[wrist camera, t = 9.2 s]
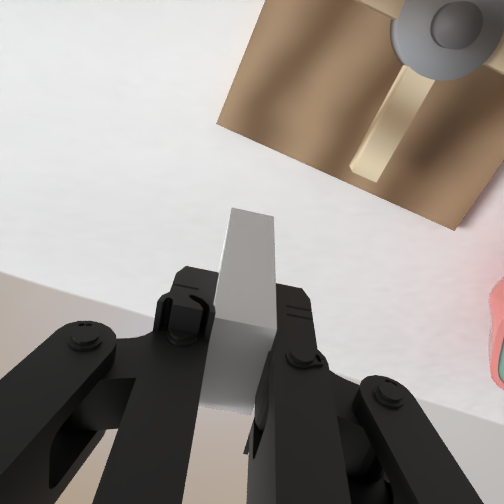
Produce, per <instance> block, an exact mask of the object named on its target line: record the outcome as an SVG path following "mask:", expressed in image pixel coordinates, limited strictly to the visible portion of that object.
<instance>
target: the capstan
mask: <svg viewBox="0 0 504 504" xmlns="http://www.w3.org/2000/svg"><path fill="white" fill-rule="evenodd" d="M354 1H356V2H358V3H360V4H362V5H364V6H366V7H368V8H370V9H372V10H374V11H376V12H378V13H380V14H382V15H384V16H386V17H388V18H390V19H391V22H390V41H391V46H392V49H393V51H394V53H395V56H396V57H397V59H398V60H399V62H400V63H401V64H402V65H403V66H402V68H401V70H400V72H399V74H398V76H397V78H396V79H395V81H394V83H393V85H392V87H391V89H390V91H389V92H388V94H387V96H386V98H385V100H384V102H383V104H382V105H381V107H380V109H379V111H378V113H377V115H376V117H375V118H374V120H373V122H372V124H371V126H370V128H369V130H368V132H367V133H366V135H365V137H364V139H363V141H362V143H361V145H360V146H359V148H358V150H357V152H356V154H355V156H354V158H353V159H352V161H351V163H350V165H349V166H350V168H351V170H352V172H353V173H356V174H358V175H360V176H362V177H365V178H367V179H369V180H371V181H374V182H377V181H378V179H379V177H380V175H381V174H382V172H383V170H384V169H385V167H386V165H387V163H388V162H389V160H390V158H391V156H392V155H393V153H394V151H395V149H396V148H397V146H398V144H399V142H400V141H401V139H402V137H403V135H404V134H405V132H406V130H407V128H408V127H409V125H410V123H411V122H412V120H413V118H414V116H415V115H416V113H417V111H418V109H419V108H420V106H421V104H422V102H423V101H424V99H425V97H426V95H427V94H428V92H429V90H430V88H431V87H432V85H433V83H434V81H435V80H439V81H448V80H454V79H458V78H461V77H463V76H466V75H468V74H470V73H471V72H473V71H475V70H476V69H478V68H479V67H480V66H481V65H484V66H486V67H488V68H490V69H492V70H494V71H496V72H498V73H500V74H502V75H504V33H503V32H504V0H354Z"/></svg>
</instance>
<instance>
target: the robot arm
mask: <svg viewBox="0 0 504 504" xmlns="http://www.w3.org/2000/svg"><path fill="white" fill-rule="evenodd" d="M311 311H312V309H311V302H310V299H309V297H308V296H307V295H306V293H305V292H304V291H303V289H302V288H297V287H292V286H287V285H282V284H277V283H276V278H275V243H274V217H273V216H268V215H264V214H259V213H254V212H250V211H245V210H241V209H236V208H231V213H230V218H229V222H228V227H227V232H226V236H225V241H224V245H223V250H222V255H221V259H220V264H219V269H218V272H213V271H208V270H203V269H199V268H194V267H189V266H185V267H184V268H183V269H181V270H180V271H179V272H177V273H176V275H175V278H174V281H173V285H172V287H171V290H170V292H168V293H166V294H164V295H162V296H161V297H160V299H159V300H158V301H157V307H156V314H155V320H154V327H153V331H152V332H150V333H148V334H146V335H144V336H140V337H137V338H124V339H116V334H115V333H114V332H113V331H112V329H111V328H109V327H108V326H106V325H104V324H102V323H98V322H93V321H77V322H73V323H69V324H66V325H64V326H63V327H61V328H60V329H58V330H57V331H56V332H54V333H53V334H52V335H51V336H50V337H49V338H48V339H46V340H45V341H44V342H43V343H42V344H41V345H39V346H38V347H37V348H36V349H35V350H34V351H33V352H31V353H30V354H29V355H28V356H27V357H26V358H25V359H23V360H22V361H21V362H20V363H19V364H18V365H17V366H15V367H14V368H13V369H12V370H11V371H10V372H9V373H7V374H6V375H5V376H4V377H3V378H2V379H1V380H0V504H54V503H55V502H56V501H57V499H58V498H59V496H60V495H61V493H62V492H63V491H64V490H65V488H66V487H67V485H68V484H69V483H70V481H71V480H72V478H73V477H74V476H75V474H76V473H77V471H78V470H79V469H80V467H81V466H82V465H83V463H84V462H85V461H86V459H87V458H88V456H89V455H90V454H91V452H92V451H93V450H94V448H95V447H96V445H97V444H98V443H99V441H100V440H101V439H102V437H103V436H104V434H105V431H106V429H117V428H119V429H118V431H117V434H116V437H115V440H114V443H113V446H112V449H111V451H110V454H109V457H108V460H107V463H106V466H105V469H104V471H103V474H102V477H101V480H100V483H99V486H98V489H97V491H96V494H95V497H94V500H93V503H92V504H182V499H183V493H184V487H185V481H186V476H187V469H188V463H189V458H190V452H191V446H192V440H193V434H194V429H195V423H196V417H197V411H198V406H202V407H208V408H213V409H219V410H224V411H229V412H234V413H240V414H245V415H251V414H252V411H253V408H254V404H255V417H254V420H253V424H252V427H251V430H250V433H249V436H248V440H247V443H246V446H245V450H244V453H243V454H248V452H249V462H248V483H247V504H484V503H483V502H482V500H481V499H480V498H479V496H478V494H477V493H476V491H475V489H474V488H473V486H472V485H471V483H470V482H469V480H468V479H467V477H466V476H465V474H464V473H463V471H462V470H461V468H460V467H459V465H458V463H457V462H456V460H455V459H454V457H453V456H452V454H451V453H450V451H449V450H448V448H447V447H446V445H445V444H444V442H443V440H442V439H441V438H440V436H439V434H438V433H437V431H436V430H435V428H434V427H433V425H432V424H431V422H430V421H429V419H428V417H427V416H426V414H425V413H424V412H423V410H422V408H421V407H420V405H419V404H418V402H417V401H416V399H415V398H414V396H413V395H412V394H411V393H410V392H409V390H408V389H407V388H406V387H404V386H403V385H401V384H400V383H399V382H397V381H395V380H392V379H390V378H388V377H384V376H378V375H374V376H367V377H366V378H365V379H363V380H362V381H361V383H360V385H358V384H355V383H353V382H351V381H348V380H346V379H344V378H342V377H340V376H338V375H336V374H334V373H333V372H332V371H330V370H329V366H328V363H327V360H326V358H325V356H324V355H323V354H322V353H321V352H320V351H319V350H317V344H316V337H315V330H314V323H313V316H312V312H311Z"/></svg>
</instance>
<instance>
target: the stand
mask: <svg viewBox="0 0 504 504" xmlns="http://www.w3.org/2000/svg"><path fill="white" fill-rule="evenodd" d="M390 22H391V19H390V18H388V17H386V16H384V15H382V14H380V13H378V12H376V11H374V10H372V9H370V8H368V7H366V6H364V5H362V4H360V3H358V2H356V1H354V0H265V3H264V5H263V8H262V10H261V13H260V15H259V18H258V20H257V23H256V25H255V28H254V30H253V33H252V35H251V38H250V41H249V43H248V46H247V48H246V51H245V53H244V56H243V58H242V61H241V63H240V66H239V68H238V71H237V73H236V76H235V78H234V81H233V83H232V86H231V88H230V91H229V93H228V96H227V98H226V101H225V103H224V106H223V108H222V111H221V113H220V116H219V118H218V121H217V123H216V124H218V125H220V126H222V127H224V128H227V129H229V130H231V131H233V132H236V133H238V134H240V135H242V136H244V137H247V138H249V139H251V140H253V141H256V142H258V143H260V144H262V145H265V146H267V147H269V148H271V149H273V150H276V151H278V152H280V153H282V154H285V155H287V156H289V157H291V158H293V159H296V160H298V161H300V162H302V163H305V164H307V165H309V166H311V167H313V168H316V169H318V170H320V171H322V172H325V173H327V174H329V175H331V176H333V177H336V178H338V179H340V180H342V181H345V182H347V183H349V184H351V185H353V186H356V187H358V188H360V189H362V190H365V191H367V192H369V193H371V194H373V195H376V196H378V197H380V198H382V199H385V200H387V201H389V202H391V203H393V204H396V205H398V206H400V207H402V208H405V209H407V210H409V211H411V212H414V213H416V214H418V215H420V216H422V217H425V218H427V219H429V220H431V221H434V222H436V223H438V224H440V225H442V226H445V227H447V228H449V229H451V230H454V231H455V230H456V228H457V227H458V225H459V224H460V222H461V221H462V219H463V218H464V217H465V215H466V214H467V212H468V211H469V209H470V208H471V206H472V205H473V204H474V202H475V201H476V199H477V198H478V196H479V195H480V194H481V192H482V191H483V189H484V188H485V186H486V185H487V183H488V182H489V181H490V179H491V178H492V176H493V175H494V173H495V172H496V170H497V169H498V168H499V166H500V165H501V163H502V162H503V160H504V75H502V74H500V73H498V72H496V71H494V70H492V69H490V68H488V67H486V66H484V65H481V66H480V67H479V68H478V69H476V70H475V71H473V72H471V73H470V74H468V75H466V76H463V77H461V78H458V79H454V80H448V81H439V80H435V81H434V83H433V85H432V87H431V88H430V90H429V92H428V94H427V95H426V97H425V99H424V101H423V102H422V104H421V106H420V108H419V109H418V111H417V113H416V115H415V116H414V118H413V120H412V122H411V123H410V125H409V127H408V128H407V130H406V132H405V134H404V135H403V137H402V139H401V141H400V142H399V144H398V146H397V148H396V149H395V151H394V153H393V155H392V156H391V158H390V160H389V162H388V163H387V165H386V167H385V169H384V170H383V172H382V174H381V175H380V177H379V179H378V181H377V182H374V181H371V180H369V179H367V178H365V177H362V176H360V175H358V174H356V173H353V172H352V170H351V168H350V166H349V165H350V163H351V161H352V159H353V158H354V156H355V154H356V152H357V150H358V148H359V146H360V145H361V143H362V141H363V139H364V137H365V135H366V133H367V132H368V130H369V128H370V126H371V124H372V122H373V120H374V118H375V117H376V115H377V113H378V111H379V109H380V107H381V105H382V104H383V102H384V100H385V98H386V96H387V94H388V92H389V91H390V89H391V87H392V85H393V83H394V81H395V79H396V78H397V76H398V74H399V72H400V70H401V68H402V66H403V65H402V64H401V63H400V62H399V60H398V59H397V57H396V56H395V53H394V51H393V49H392V46H391V41H390ZM503 33H504V32H503Z"/></svg>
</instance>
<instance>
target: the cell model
mask: <svg viewBox="0 0 504 504" xmlns="http://www.w3.org/2000/svg"><path fill="white" fill-rule="evenodd" d="M489 305H490V314H491V329H490V334H489V362H490V370H491V378H492V379H493V381H494V382H495V383H496V384H497V386H499V387H500V388H502V389H503V390H504V277H503V278H502V279H501V280H500V281H499V282H498V283H497V284H496V285H495V286H494V287H493V289H492V290H491V292H490V295H489Z"/></svg>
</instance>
